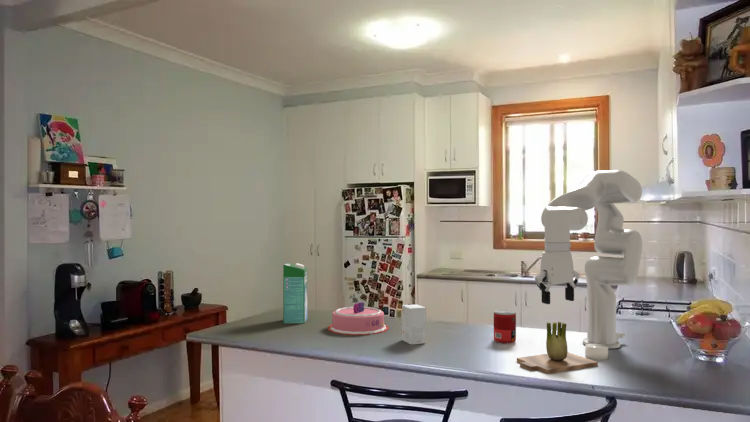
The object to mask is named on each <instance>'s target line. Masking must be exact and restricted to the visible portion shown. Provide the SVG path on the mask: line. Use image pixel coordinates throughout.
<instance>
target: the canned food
mask: <svg viewBox="0 0 750 422" xmlns="http://www.w3.org/2000/svg"><path fill="white" fill-rule="evenodd" d="M493 340H494V342H496V343H499V344H514V343H515V342H516V340H517V313H516V311H515V310H512V309H495V310H493Z"/></svg>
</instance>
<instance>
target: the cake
mask: <svg viewBox="0 0 750 422" xmlns="http://www.w3.org/2000/svg"><path fill="white" fill-rule="evenodd" d="M331 316H332V319H331V320H332V321H331V322H332V324H329V325H328V326H327V330H328V332H331V333H334V334H338V335H343V334H344V335H345V336H371V335H370V333H373V334H372V335H377V334H383V333H385V332H388V331H389V329H390V327H389V326H388V325H387V324H385V313H384V311H383V310H381V309H380V308H377V307H371V306H365V302H363V301H360V302H357V303H354V305H353V306H345V307H340V308H337V309H336V310H334V311H332V315H331ZM382 332H383V333H382Z"/></svg>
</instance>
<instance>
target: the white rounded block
mask: <svg viewBox="0 0 750 422" xmlns="http://www.w3.org/2000/svg"><path fill="white" fill-rule="evenodd" d="M584 349H585V350H584V351H585V353H584V354H585V355H584V357H585V358H587V359H590V360H595V361H596V360H597V361H598V360H600V361H601V360H602V361H605V360H608V359H609V349H608V346H605V345H601V344H586V345H585V344H584Z"/></svg>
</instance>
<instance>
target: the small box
mask: <svg viewBox="0 0 750 422" xmlns="http://www.w3.org/2000/svg"><path fill="white" fill-rule="evenodd" d="M401 340H402V341H403V342H405V343H407V344H408V345H420V344H421V345H422V344H426V343H427V307H425V306H423V305H419V304H417V303H416V304H402V305H401Z"/></svg>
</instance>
